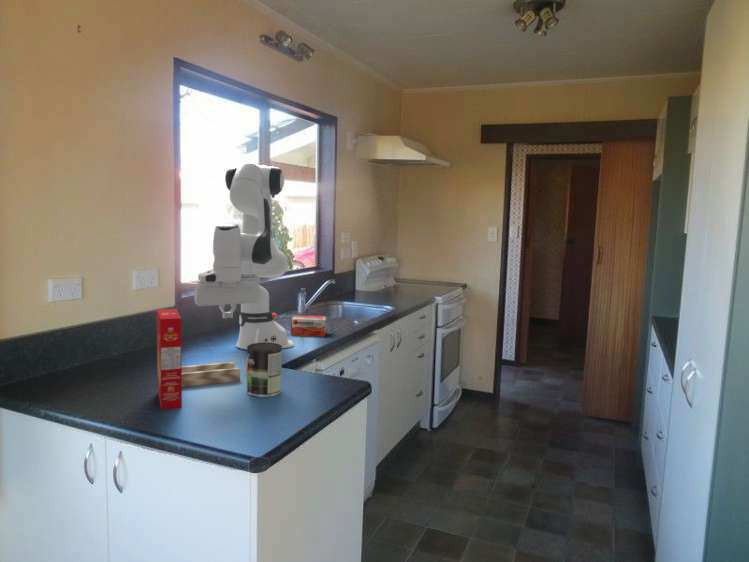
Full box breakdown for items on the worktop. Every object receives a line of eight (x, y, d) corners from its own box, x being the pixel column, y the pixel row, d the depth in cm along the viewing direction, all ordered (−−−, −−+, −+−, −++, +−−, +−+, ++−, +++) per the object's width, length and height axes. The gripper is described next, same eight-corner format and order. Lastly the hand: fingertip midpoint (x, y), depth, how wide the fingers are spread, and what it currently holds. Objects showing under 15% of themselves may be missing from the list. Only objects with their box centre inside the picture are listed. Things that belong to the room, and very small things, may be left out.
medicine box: (290, 336, 251) (291, 318, 250) (293, 332, 259) (293, 314, 258) (325, 337, 251) (325, 319, 250) (326, 333, 259) (327, 316, 258)
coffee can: (250, 398, 165) (250, 351, 164) (244, 388, 175) (244, 343, 173) (284, 395, 169) (285, 349, 168) (277, 385, 179) (278, 341, 177)
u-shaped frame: (233, 373, 190) (233, 359, 190) (240, 380, 182) (240, 366, 182) (170, 379, 181) (170, 364, 180) (174, 387, 173) (174, 372, 172)
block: (260, 372, 192) (260, 357, 192) (264, 376, 188) (265, 361, 187) (246, 373, 190) (246, 359, 189) (249, 377, 186) (250, 362, 185)
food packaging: (157, 393, 167) (156, 309, 164) (176, 391, 169) (176, 309, 166) (161, 410, 154) (160, 319, 151) (181, 407, 156) (181, 318, 153)
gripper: (257, 273, 188) (256, 314, 190) (193, 274, 179) (193, 317, 181) (262, 275, 183) (262, 317, 185) (196, 277, 173) (197, 321, 175)
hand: (227, 317), depth 183 cm, fingers closed
